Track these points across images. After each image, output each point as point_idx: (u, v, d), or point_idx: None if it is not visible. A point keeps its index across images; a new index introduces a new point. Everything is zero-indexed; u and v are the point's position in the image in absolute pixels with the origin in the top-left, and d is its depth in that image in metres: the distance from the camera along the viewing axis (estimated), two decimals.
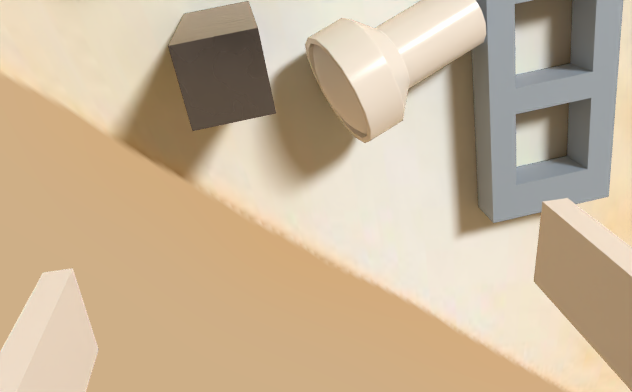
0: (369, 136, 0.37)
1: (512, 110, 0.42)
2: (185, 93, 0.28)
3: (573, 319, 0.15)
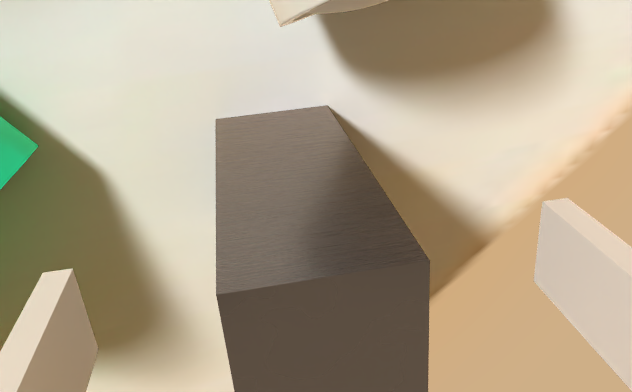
0: None
1: None
2: None
3: (573, 319, 0.15)
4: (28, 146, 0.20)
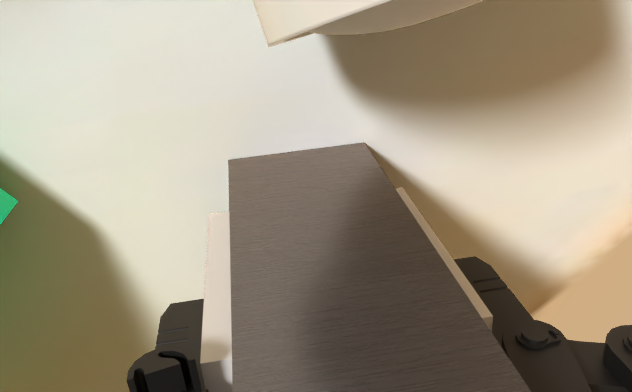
0: None
1: None
2: None
3: None
4: (5, 203, 0.16)
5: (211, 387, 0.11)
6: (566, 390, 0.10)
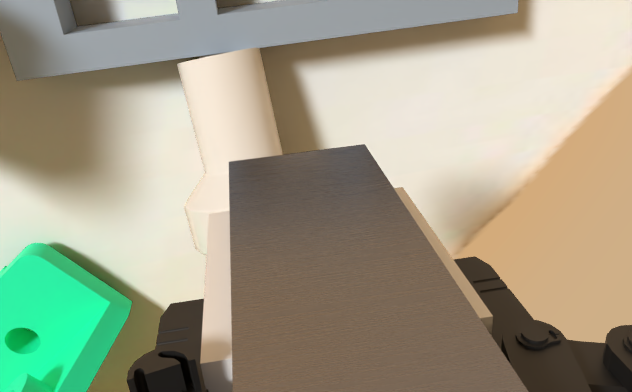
0: None
1: (357, 1, 0.30)
2: None
3: None
4: (128, 304, 0.38)
5: (211, 387, 0.11)
6: (567, 391, 0.10)
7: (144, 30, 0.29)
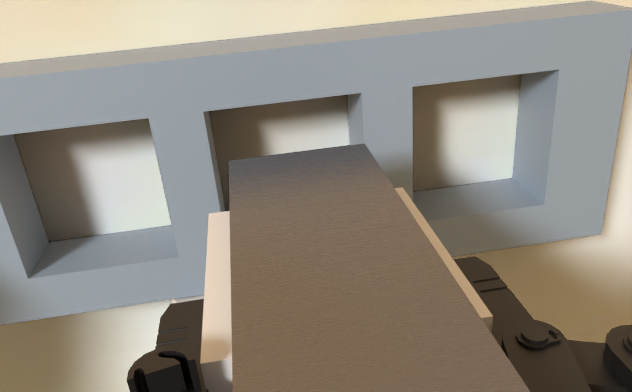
0: None
1: None
2: None
3: None
4: None
5: (211, 387, 0.11)
6: (567, 390, 0.10)
7: (132, 270, 0.23)
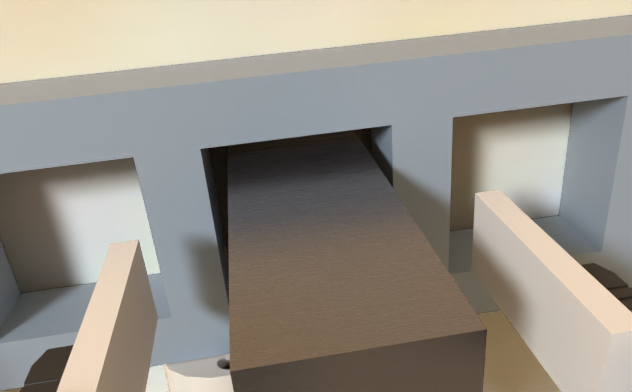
0: None
1: None
2: None
3: (501, 304, 0.16)
4: None
5: None
6: None
7: None
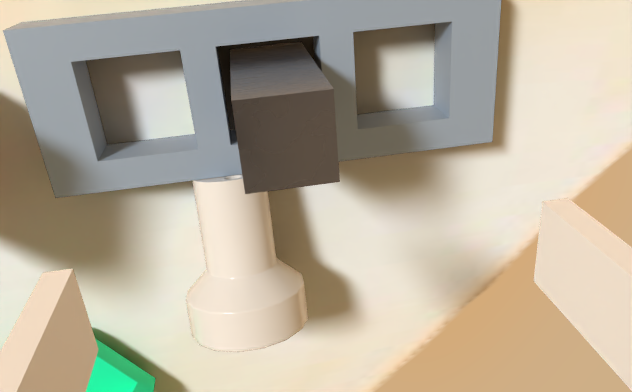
0: (295, 332, 0.36)
1: (352, 134, 0.35)
2: (297, 183, 0.26)
3: (573, 319, 0.15)
4: (152, 381, 0.43)
5: None
6: None
7: (166, 158, 0.34)
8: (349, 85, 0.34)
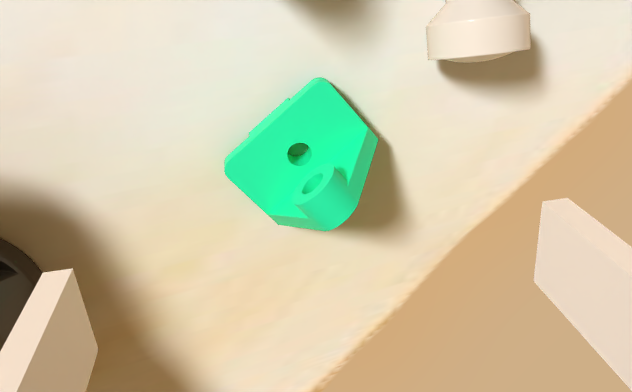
0: (527, 49, 0.43)
1: None
2: None
3: (574, 319, 0.15)
4: (374, 134, 0.50)
5: None
6: None
7: None
8: None
